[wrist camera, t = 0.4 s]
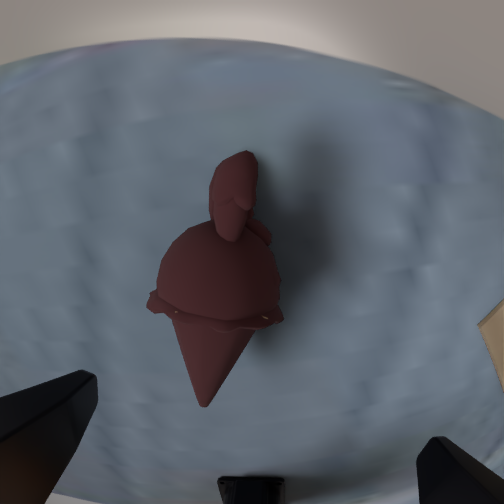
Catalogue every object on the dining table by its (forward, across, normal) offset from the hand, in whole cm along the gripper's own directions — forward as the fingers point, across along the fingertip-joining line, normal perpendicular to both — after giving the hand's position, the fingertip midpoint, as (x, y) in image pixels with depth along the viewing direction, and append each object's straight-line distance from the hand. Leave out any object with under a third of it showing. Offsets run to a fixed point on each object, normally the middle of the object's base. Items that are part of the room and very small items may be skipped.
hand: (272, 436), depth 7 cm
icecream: (+14, +3, +1) cm, 14 cm away
